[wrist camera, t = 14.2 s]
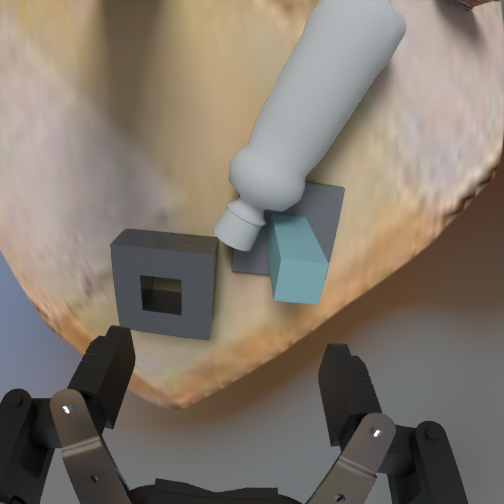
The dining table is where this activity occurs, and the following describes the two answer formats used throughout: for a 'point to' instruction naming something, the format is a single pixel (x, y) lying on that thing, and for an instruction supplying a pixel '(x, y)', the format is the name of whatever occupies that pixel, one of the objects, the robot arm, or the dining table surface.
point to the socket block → (165, 266)
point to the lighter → (469, 3)
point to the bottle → (308, 109)
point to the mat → (310, 206)
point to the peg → (295, 260)
